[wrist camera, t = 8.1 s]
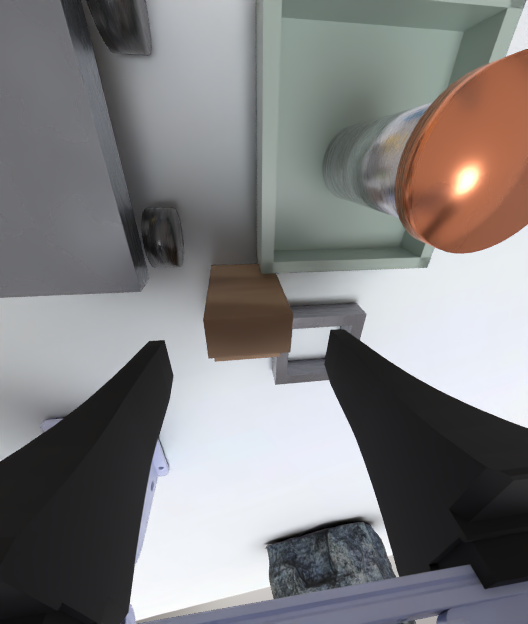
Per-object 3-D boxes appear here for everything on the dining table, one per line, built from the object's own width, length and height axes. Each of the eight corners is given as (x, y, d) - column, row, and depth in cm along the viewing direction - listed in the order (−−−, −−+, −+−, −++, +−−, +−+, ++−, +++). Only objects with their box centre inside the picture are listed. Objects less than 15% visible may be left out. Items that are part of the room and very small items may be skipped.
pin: (382, 206, 14) (528, 250, 7) (310, 208, 13) (394, 257, 7) (402, 113, 11) (640, 49, 5) (319, 113, 11) (453, 41, 4)
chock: (269, 318, 17) (287, 383, 12) (217, 321, 17) (213, 390, 12) (271, 263, 15) (293, 314, 10) (211, 265, 15) (203, 319, 10)
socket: (342, 364, 20) (349, 378, 19) (272, 370, 20) (275, 384, 18) (356, 303, 17) (366, 314, 16) (274, 307, 17) (278, 319, 15)
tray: (400, 253, 16) (427, 267, 14) (256, 257, 15) (261, 273, 13) (471, 18, 11) (533, -18, 8) (255, 0, 10) (263, -46, 7)
